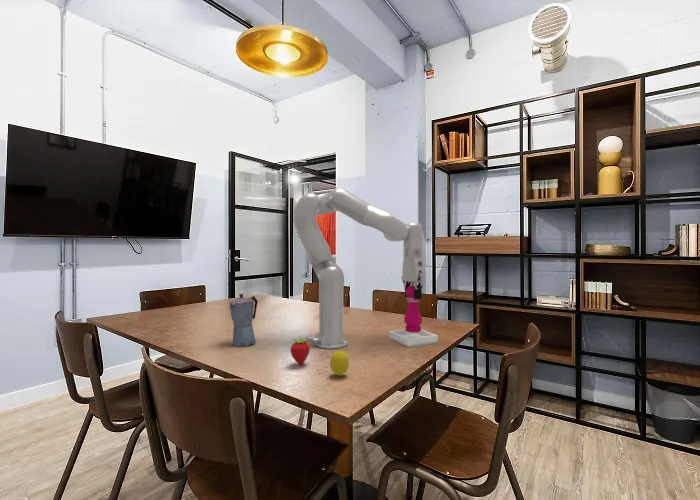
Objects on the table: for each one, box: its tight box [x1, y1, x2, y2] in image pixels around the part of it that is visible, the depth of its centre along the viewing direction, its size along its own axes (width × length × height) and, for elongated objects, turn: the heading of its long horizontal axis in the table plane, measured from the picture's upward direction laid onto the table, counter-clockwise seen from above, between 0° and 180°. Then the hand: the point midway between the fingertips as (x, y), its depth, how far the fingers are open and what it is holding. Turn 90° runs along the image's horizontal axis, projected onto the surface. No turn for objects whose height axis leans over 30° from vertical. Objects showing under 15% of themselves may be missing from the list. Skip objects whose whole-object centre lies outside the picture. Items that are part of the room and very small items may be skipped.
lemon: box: [329, 349, 350, 377], centre depth 106 cm, size 6×6×8 cm
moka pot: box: [228, 293, 258, 348], centre depth 141 cm, size 10×15×20 cm, turn 158°
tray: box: [388, 329, 439, 348], centre depth 145 cm, size 14×14×3 cm
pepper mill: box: [404, 282, 423, 333], centre depth 144 cm, size 7×7×20 cm
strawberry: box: [290, 337, 311, 367], centre depth 116 cm, size 6×8×10 cm
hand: (412, 297), depth 144 cm, fingers closed on pepper mill, 5 cm apart
